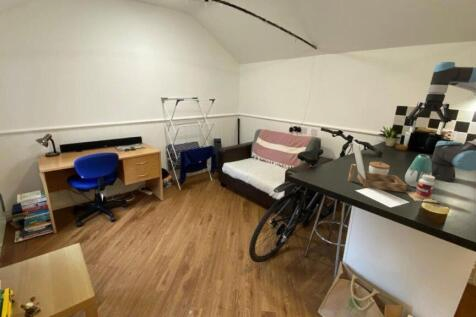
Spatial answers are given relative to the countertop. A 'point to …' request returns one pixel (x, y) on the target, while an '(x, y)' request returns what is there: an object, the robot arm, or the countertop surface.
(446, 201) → the countertop surface
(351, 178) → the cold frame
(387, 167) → the lidded jar
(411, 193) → the cork mat
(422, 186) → the pill bottle
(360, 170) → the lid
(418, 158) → the vase
